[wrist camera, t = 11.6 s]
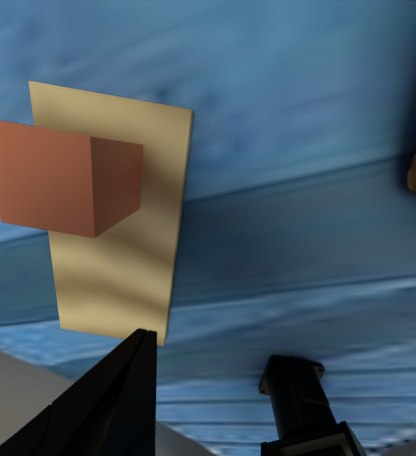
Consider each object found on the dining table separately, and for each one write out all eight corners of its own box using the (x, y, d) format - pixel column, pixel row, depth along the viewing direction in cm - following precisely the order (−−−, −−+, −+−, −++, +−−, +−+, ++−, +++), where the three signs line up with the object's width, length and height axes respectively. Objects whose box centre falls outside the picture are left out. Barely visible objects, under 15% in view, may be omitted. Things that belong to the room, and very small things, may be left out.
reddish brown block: (140, 208, 17) (94, 238, 11) (81, 198, 17) (1, 222, 11) (143, 144, 15) (90, 136, 9) (77, 132, 15) (-22, 116, 9)
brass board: (166, 337, 24) (163, 346, 23) (68, 319, 24) (60, 328, 23) (193, 113, 15) (191, 109, 14) (42, 86, 15) (28, 80, 14)
